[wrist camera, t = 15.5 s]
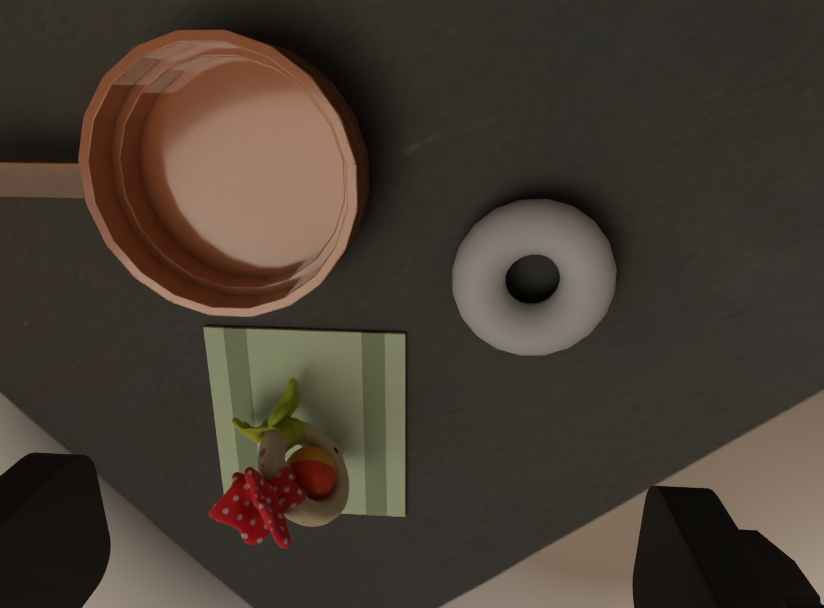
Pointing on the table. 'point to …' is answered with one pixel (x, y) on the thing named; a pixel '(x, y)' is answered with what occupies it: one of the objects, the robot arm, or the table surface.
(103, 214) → the pan
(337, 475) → the bird rattle
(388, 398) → the towel
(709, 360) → the table surface
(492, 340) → the donut
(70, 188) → the pan handle
